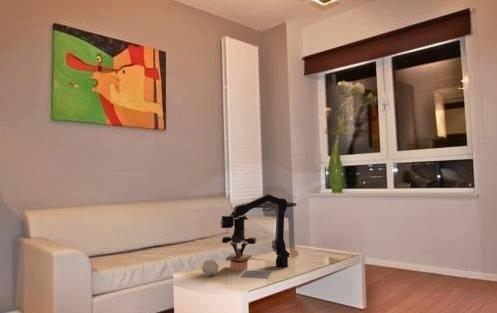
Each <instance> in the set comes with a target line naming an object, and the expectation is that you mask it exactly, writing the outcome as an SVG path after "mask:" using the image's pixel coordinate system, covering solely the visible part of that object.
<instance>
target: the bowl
mask: <svg viewBox="0 0 497 313" xmlns="http://www.w3.org/2000/svg"><path fill="white" fill-rule="evenodd" d="M229 261H230V262H229V265H230V266H229V269H230V270H231V271H234V272H235V271H236V272H241V271H242V272H243V271H244V272H245V271H248V268H249V260H248V261H232V260H229Z"/></svg>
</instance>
